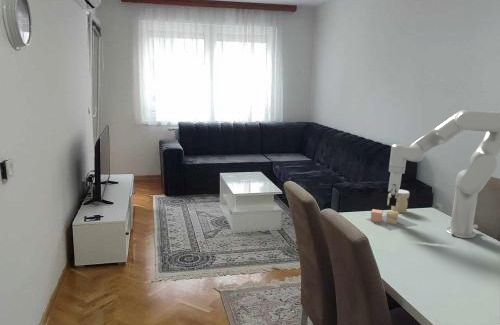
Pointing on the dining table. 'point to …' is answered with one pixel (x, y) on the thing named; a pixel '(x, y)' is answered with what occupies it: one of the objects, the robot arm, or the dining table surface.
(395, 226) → the baseplate
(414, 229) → the dining table surface
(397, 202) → the birch block
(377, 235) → the dining table surface
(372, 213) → the terracotta block
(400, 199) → the coffee cup
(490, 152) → the robot arm
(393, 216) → the oak base brick
